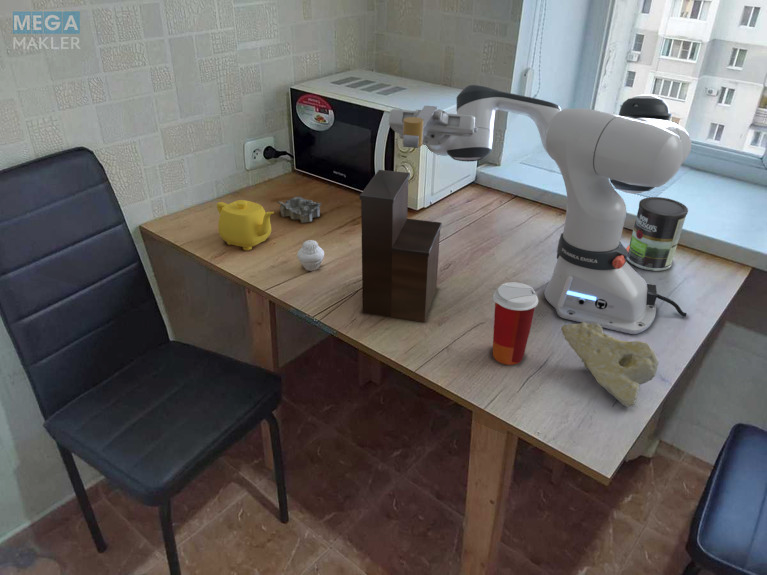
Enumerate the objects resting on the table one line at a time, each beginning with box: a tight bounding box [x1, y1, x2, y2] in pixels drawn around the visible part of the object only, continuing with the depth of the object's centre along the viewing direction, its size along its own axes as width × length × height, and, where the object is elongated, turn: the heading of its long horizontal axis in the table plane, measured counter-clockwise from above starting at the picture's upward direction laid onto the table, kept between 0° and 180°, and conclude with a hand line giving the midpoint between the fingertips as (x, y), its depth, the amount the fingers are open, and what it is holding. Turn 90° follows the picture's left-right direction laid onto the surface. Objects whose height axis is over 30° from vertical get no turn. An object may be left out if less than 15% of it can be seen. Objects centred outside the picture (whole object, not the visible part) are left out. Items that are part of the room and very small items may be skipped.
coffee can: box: [626, 196, 689, 272], centre depth 141 cm, size 10×10×14 cm
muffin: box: [296, 239, 325, 272], centre depth 139 cm, size 6×6×7 cm
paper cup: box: [492, 281, 539, 366], centre depth 110 cm, size 8×8×14 cm
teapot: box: [216, 199, 275, 251], centre depth 149 cm, size 18×11×11 cm, turn 59°
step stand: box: [359, 169, 443, 323], centre depth 122 cm, size 14×13×26 cm
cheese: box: [561, 322, 660, 408], centre depth 107 cm, size 15×7×15 cm
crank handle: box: [402, 105, 439, 149], centre depth 130 cm, size 22×4×5 cm, turn 166°
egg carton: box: [276, 196, 322, 224], centre depth 164 cm, size 11×8×4 cm
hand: (427, 114), depth 136 cm, fingers closed on crank handle, 3 cm apart
